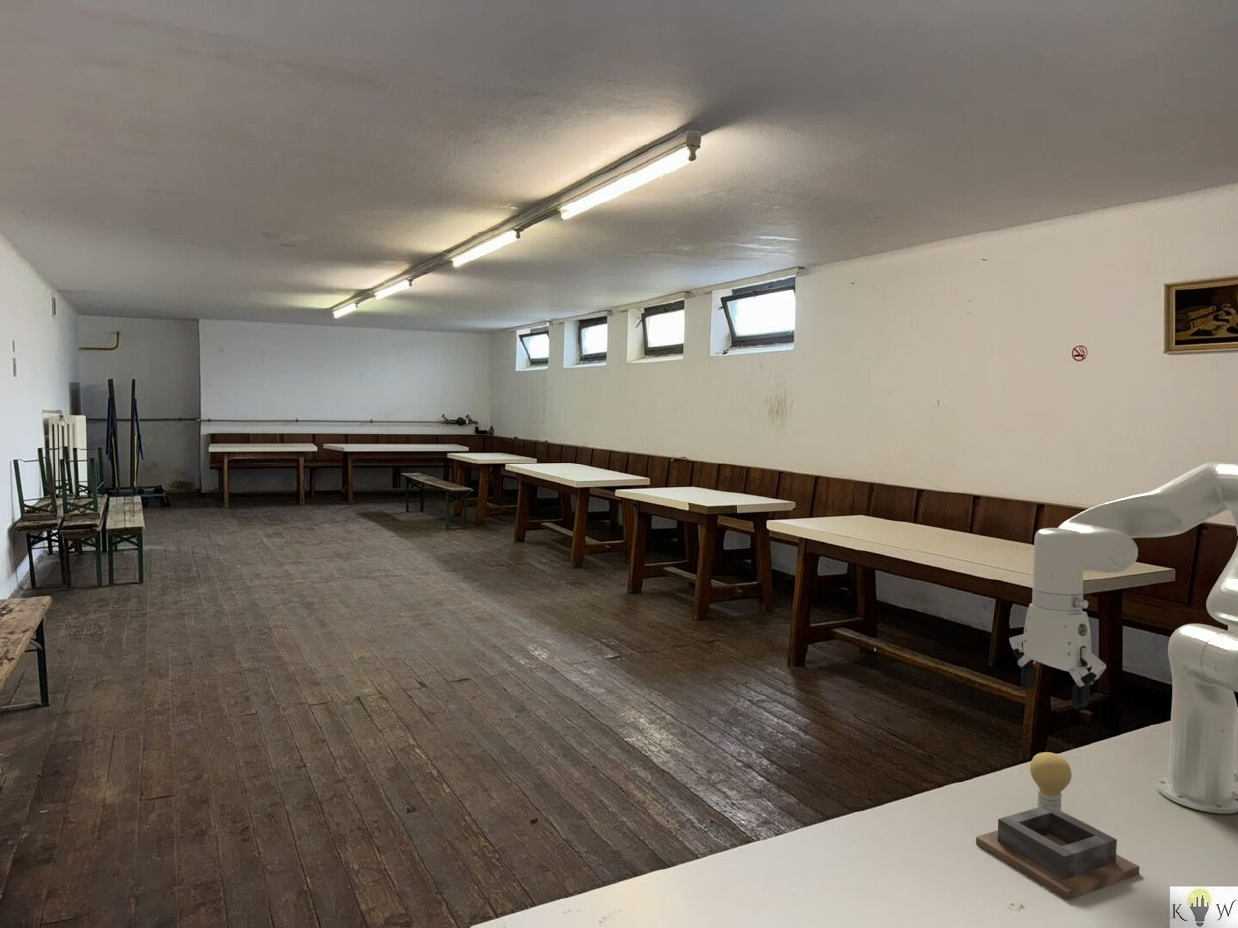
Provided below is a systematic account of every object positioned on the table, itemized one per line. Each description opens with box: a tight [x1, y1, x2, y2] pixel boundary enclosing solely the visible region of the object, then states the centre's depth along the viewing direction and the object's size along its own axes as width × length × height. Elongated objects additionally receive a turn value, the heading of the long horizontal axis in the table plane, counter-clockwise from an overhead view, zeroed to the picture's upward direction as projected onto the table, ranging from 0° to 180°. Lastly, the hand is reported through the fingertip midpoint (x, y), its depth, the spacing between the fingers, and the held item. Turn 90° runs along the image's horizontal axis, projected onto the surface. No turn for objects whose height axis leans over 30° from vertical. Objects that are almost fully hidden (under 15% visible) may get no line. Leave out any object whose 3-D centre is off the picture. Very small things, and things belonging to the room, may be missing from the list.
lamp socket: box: [975, 805, 1141, 901], centre depth 123 cm, size 16×16×5 cm
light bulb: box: [1029, 751, 1072, 811], centre depth 139 cm, size 6×6×10 cm
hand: (1053, 697), depth 137 cm, fingers open, 9 cm apart
